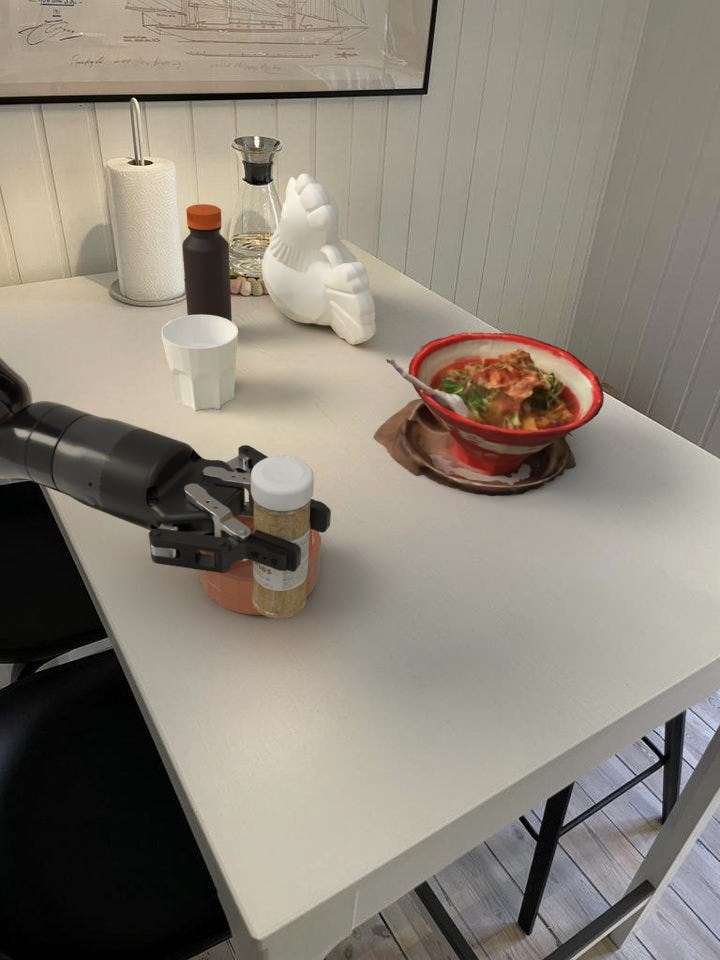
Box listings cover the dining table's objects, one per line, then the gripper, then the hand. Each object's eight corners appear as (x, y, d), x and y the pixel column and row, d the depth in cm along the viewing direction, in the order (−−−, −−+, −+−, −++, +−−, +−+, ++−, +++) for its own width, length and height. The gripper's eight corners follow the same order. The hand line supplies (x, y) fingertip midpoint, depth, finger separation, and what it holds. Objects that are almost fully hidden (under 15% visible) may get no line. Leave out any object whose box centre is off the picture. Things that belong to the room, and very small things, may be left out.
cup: (170, 417, 101) (163, 350, 95) (165, 380, 108) (158, 316, 102) (245, 411, 103) (243, 345, 97) (234, 375, 111) (232, 312, 105)
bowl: (259, 638, 71) (259, 601, 68) (175, 576, 77) (171, 540, 74) (342, 572, 79) (345, 537, 76) (259, 521, 85) (259, 486, 82)
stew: (389, 519, 87) (403, 399, 77) (358, 408, 106) (366, 301, 96) (615, 508, 91) (655, 394, 82) (547, 404, 110) (573, 301, 100)
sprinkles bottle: (241, 594, 62) (238, 464, 54) (288, 573, 65) (291, 446, 57) (271, 630, 60) (272, 498, 51) (318, 607, 62) (326, 477, 54)
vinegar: (182, 331, 121) (172, 205, 109) (221, 323, 124) (215, 199, 112) (199, 349, 116) (190, 219, 104) (239, 340, 120) (235, 213, 108)
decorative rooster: (251, 256, 131) (246, 164, 107) (337, 235, 133) (351, 141, 109) (295, 386, 126) (300, 320, 102) (383, 361, 129) (409, 292, 105)
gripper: (57, 481, 54) (267, 561, 49) (175, 393, 64) (356, 451, 60) (73, 558, 58) (267, 637, 54) (181, 463, 69) (350, 523, 64)
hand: (313, 539), depth 57 cm, fingers closed on sprinkles bottle, 4 cm apart
